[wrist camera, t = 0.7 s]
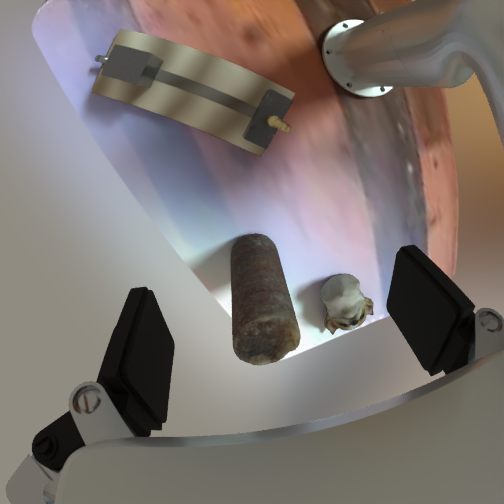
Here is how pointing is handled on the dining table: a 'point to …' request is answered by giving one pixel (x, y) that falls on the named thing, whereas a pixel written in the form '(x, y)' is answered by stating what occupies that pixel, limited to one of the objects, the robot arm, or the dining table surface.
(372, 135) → the dining table surface
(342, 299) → the ceramic sculpture
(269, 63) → the dining table surface
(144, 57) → the dark grey block
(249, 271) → the candle
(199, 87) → the rail board
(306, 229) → the dining table surface
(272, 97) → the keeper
